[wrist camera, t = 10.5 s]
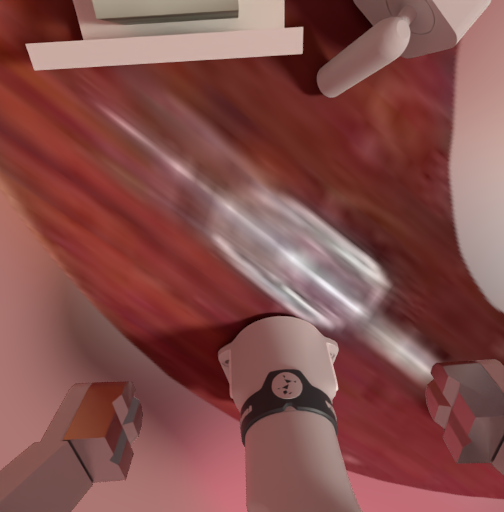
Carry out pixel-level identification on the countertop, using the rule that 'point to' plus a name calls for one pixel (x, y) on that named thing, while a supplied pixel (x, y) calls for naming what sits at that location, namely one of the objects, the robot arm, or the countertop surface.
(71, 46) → the board
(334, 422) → the robot arm
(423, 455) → the countertop surface
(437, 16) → the white block with rod
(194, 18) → the cabinet block
